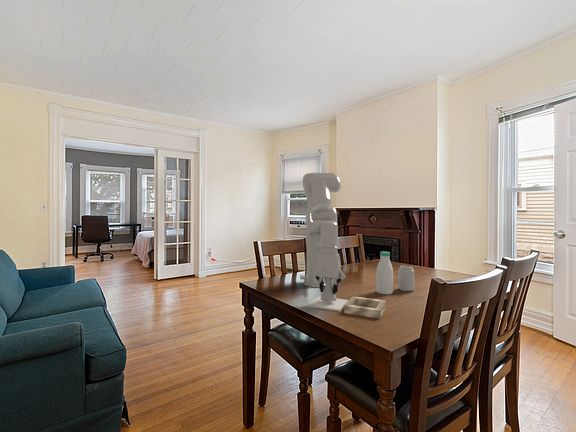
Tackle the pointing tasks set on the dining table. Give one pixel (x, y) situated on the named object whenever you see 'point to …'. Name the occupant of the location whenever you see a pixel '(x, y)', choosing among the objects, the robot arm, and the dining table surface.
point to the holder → (365, 311)
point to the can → (406, 278)
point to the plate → (328, 304)
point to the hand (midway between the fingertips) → (328, 291)
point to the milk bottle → (384, 274)
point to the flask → (328, 291)
